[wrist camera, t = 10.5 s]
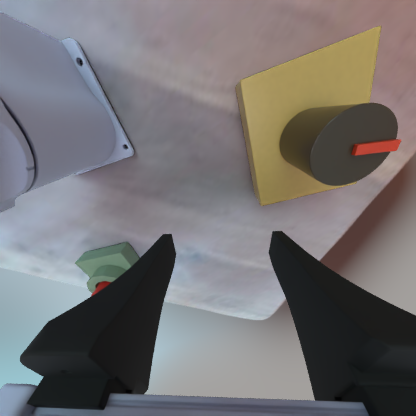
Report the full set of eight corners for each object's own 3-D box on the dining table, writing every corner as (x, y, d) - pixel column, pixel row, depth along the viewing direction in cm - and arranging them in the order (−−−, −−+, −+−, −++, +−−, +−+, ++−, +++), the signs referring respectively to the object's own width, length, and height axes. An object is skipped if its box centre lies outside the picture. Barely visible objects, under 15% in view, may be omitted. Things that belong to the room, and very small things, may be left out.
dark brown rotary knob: (277, 168, 14) (306, 191, 10) (281, 112, 12) (321, 109, 8) (328, 162, 14) (383, 184, 9) (342, 103, 12) (422, 94, 7)
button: (94, 282, 23) (85, 294, 22) (114, 278, 23) (107, 290, 21) (108, 296, 25) (101, 307, 23) (128, 293, 24) (122, 304, 23)
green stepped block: (85, 252, 25) (64, 273, 22) (127, 241, 24) (113, 263, 20) (119, 288, 30) (107, 311, 27) (157, 282, 29) (149, 304, 25)
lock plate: (235, 87, 14) (239, 80, 11) (347, 43, 12) (382, 24, 10) (254, 194, 19) (261, 206, 17) (335, 173, 18) (356, 183, 15)
